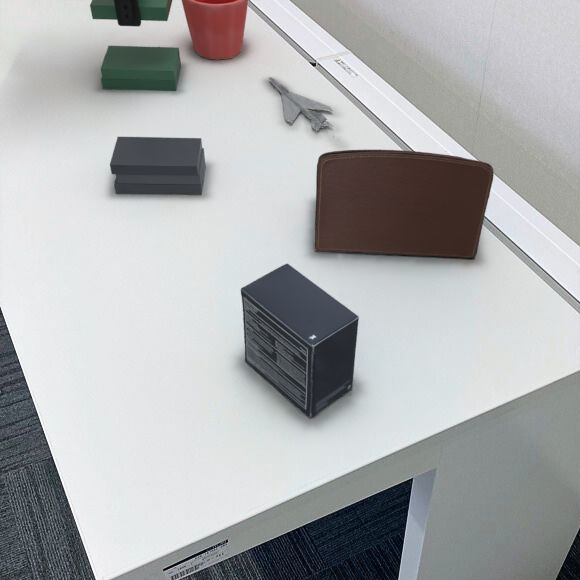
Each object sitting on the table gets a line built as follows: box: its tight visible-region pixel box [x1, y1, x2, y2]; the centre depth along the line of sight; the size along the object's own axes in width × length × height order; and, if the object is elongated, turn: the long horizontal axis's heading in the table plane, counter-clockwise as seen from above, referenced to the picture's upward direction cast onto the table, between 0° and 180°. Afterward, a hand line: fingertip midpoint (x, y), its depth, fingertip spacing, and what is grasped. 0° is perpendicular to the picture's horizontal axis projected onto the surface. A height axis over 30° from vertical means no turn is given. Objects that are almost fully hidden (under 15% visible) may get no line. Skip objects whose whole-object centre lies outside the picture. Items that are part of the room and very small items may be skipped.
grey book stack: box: [109, 136, 207, 196], centre depth 100 cm, size 11×6×4 cm, turn 93°
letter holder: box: [313, 149, 495, 260], centre depth 92 cm, size 10×20×14 cm, turn 90°
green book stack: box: [100, 45, 182, 92], centre depth 118 cm, size 11×8×3 cm
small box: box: [240, 263, 360, 419], centre depth 76 cm, size 11×6×10 cm, turn 44°
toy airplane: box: [268, 76, 339, 142], centre depth 114 cm, size 8×21×2 cm, turn 33°
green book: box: [89, 0, 173, 22], centre depth 111 cm, size 10×7×2 cm, turn 93°
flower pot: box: [181, 0, 249, 61], centre depth 124 cm, size 11×11×10 cm
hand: (133, 12), depth 112 cm, fingers closed on green book, 7 cm apart
